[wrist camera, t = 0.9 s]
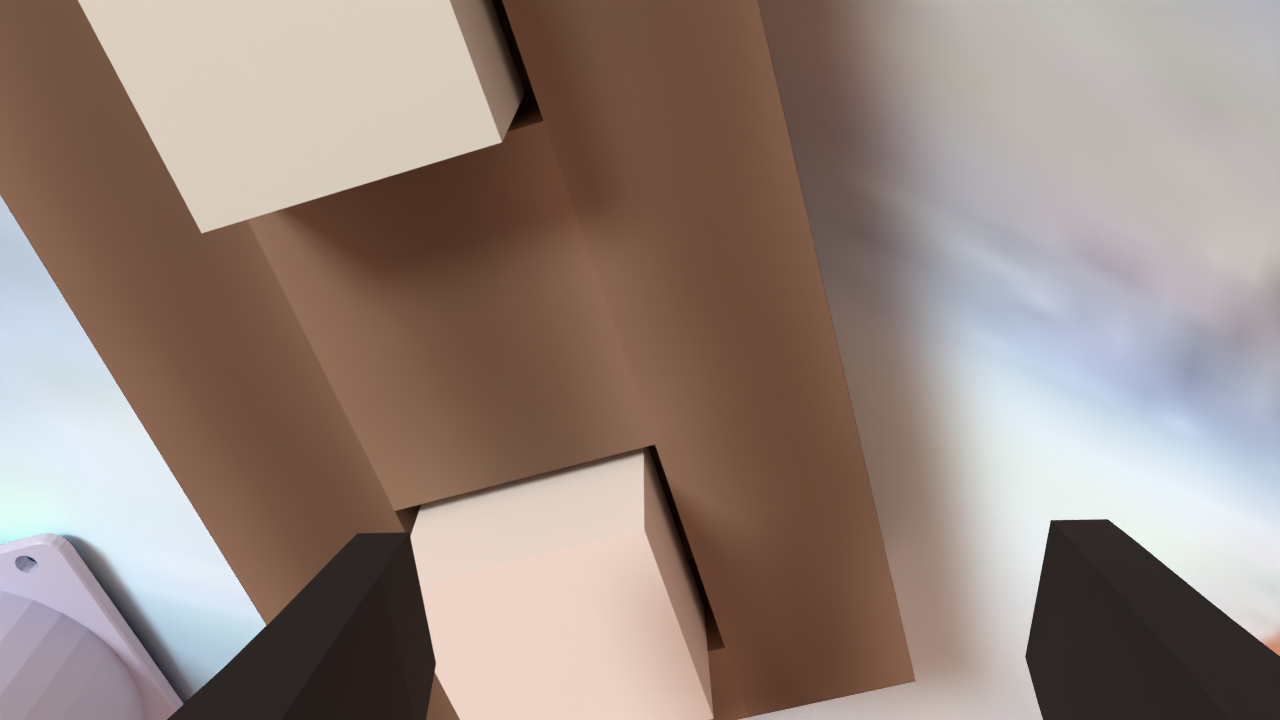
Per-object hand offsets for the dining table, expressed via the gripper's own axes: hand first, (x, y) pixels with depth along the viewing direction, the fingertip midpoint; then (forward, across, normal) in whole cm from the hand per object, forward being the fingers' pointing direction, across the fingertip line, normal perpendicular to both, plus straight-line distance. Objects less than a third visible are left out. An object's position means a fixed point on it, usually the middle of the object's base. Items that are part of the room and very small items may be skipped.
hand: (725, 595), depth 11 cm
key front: (+7, +6, -6) cm, 11 cm away
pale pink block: (+7, +3, +5) cm, 9 cm away
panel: (+10, +4, 0) cm, 11 cm away
